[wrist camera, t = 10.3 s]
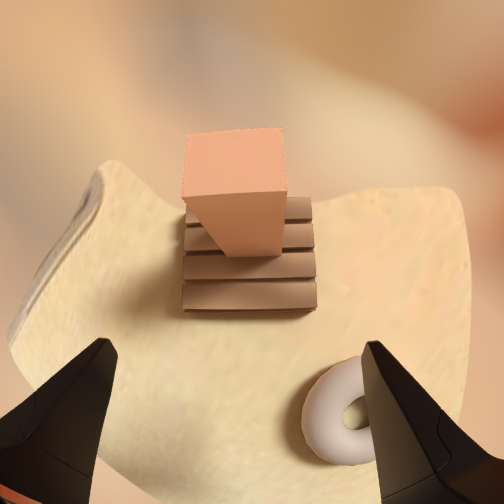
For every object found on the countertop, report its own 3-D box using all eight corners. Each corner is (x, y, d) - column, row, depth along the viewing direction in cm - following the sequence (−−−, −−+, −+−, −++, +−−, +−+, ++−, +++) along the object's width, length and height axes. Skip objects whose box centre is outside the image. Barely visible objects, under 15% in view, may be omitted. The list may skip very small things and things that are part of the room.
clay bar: (281, 255, 21) (287, 191, 10) (227, 257, 21) (180, 197, 10) (279, 217, 21) (281, 127, 11) (227, 219, 22) (187, 134, 11)
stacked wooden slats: (313, 310, 22) (317, 310, 20) (190, 312, 22) (182, 311, 20) (307, 204, 24) (310, 194, 22) (193, 209, 24) (186, 199, 22)
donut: (289, 452, 19) (393, 452, 18) (290, 471, 16) (406, 468, 15) (310, 347, 21) (417, 353, 20) (315, 352, 18) (436, 357, 17)
